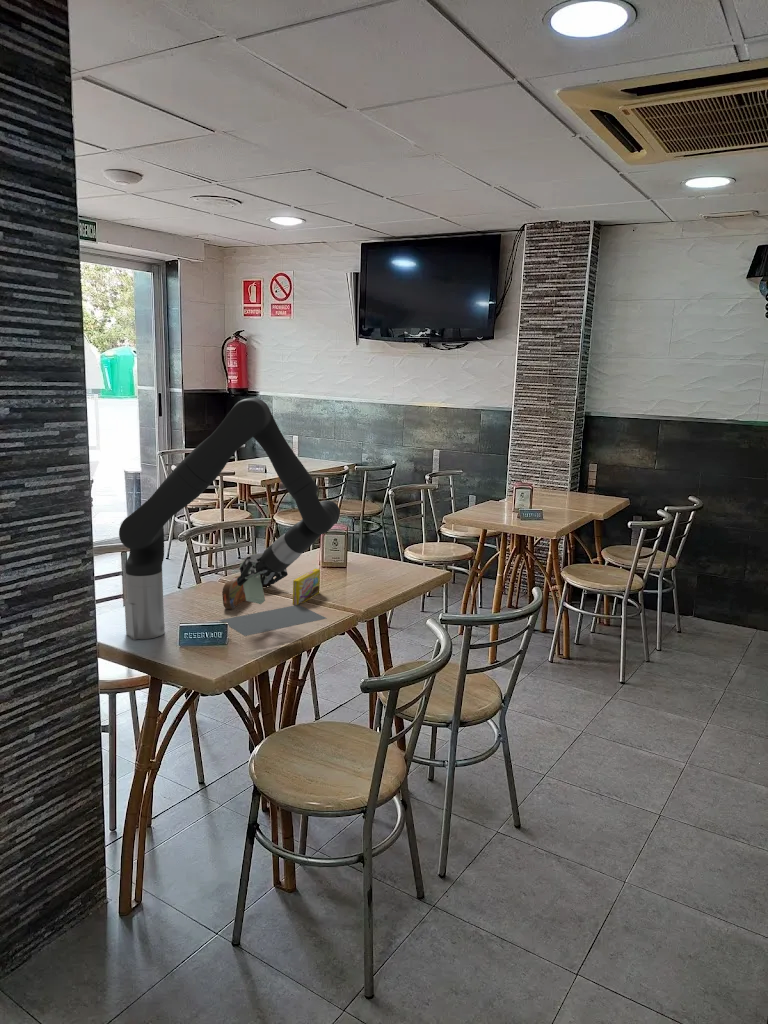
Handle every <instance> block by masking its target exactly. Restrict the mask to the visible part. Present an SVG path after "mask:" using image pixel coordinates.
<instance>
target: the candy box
mask: <svg viewBox="0 0 768 1024" xmlns="http://www.w3.org/2000/svg"><path fill="white" fill-rule="evenodd" d="M320 577H321V569H320V568H313V569H312V570H310V571H309V572H306V573H305V574H303V575H301V576H299V577H296V578H295V579H293V580H292V581H293V583H292V605H293V606H294V605H300V604H301V603H302V604H304V603H305V602H307V601H308V600H310V599H312V598H314V597H315V596H317V595H319V594H320V585H321V583H320V582H321V578H320ZM313 596H314V597H313ZM311 597H312V598H311Z"/></svg>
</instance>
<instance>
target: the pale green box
mask: <svg viewBox="0 0 768 1024" xmlns="http://www.w3.org/2000/svg"><path fill="white" fill-rule="evenodd" d="M244 561H245V560H244ZM244 561H242V562H241V563H240V564H239V568H240V567H241V565H242V564H243V562H244ZM255 572H256V569H255ZM248 573H249V574H250V573H251V571H250V572H248ZM243 586H244V591H245V597H246V602H248V603H249V602H250V603H254V604H258V605H262V604H263V603H264V602H266V598H265V592H264V588H263V587H262V583H261V578H260V575H258V576H256V577H254V576H253V577H251V578H249V579H248V580H247V581H246V582H245V583H244V584H243Z"/></svg>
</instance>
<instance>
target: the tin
mask: <svg viewBox="0 0 768 1024" xmlns="http://www.w3.org/2000/svg"><path fill="white" fill-rule="evenodd" d="M239 576H240V575H238V576H234V577H233V578H232V579H230V580H229V581H226V583H225V584H224V585H223V587H222V593H221V594H222V604H223V607H224V608H225V609H226V610H228V609H229V610H234V608H236V607H237V606H239V604H242V602H245V601H246V597H245V591H244V586H243V585H242V586H238V584H237V578H238V577H239ZM246 602H247V601H246Z"/></svg>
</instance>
